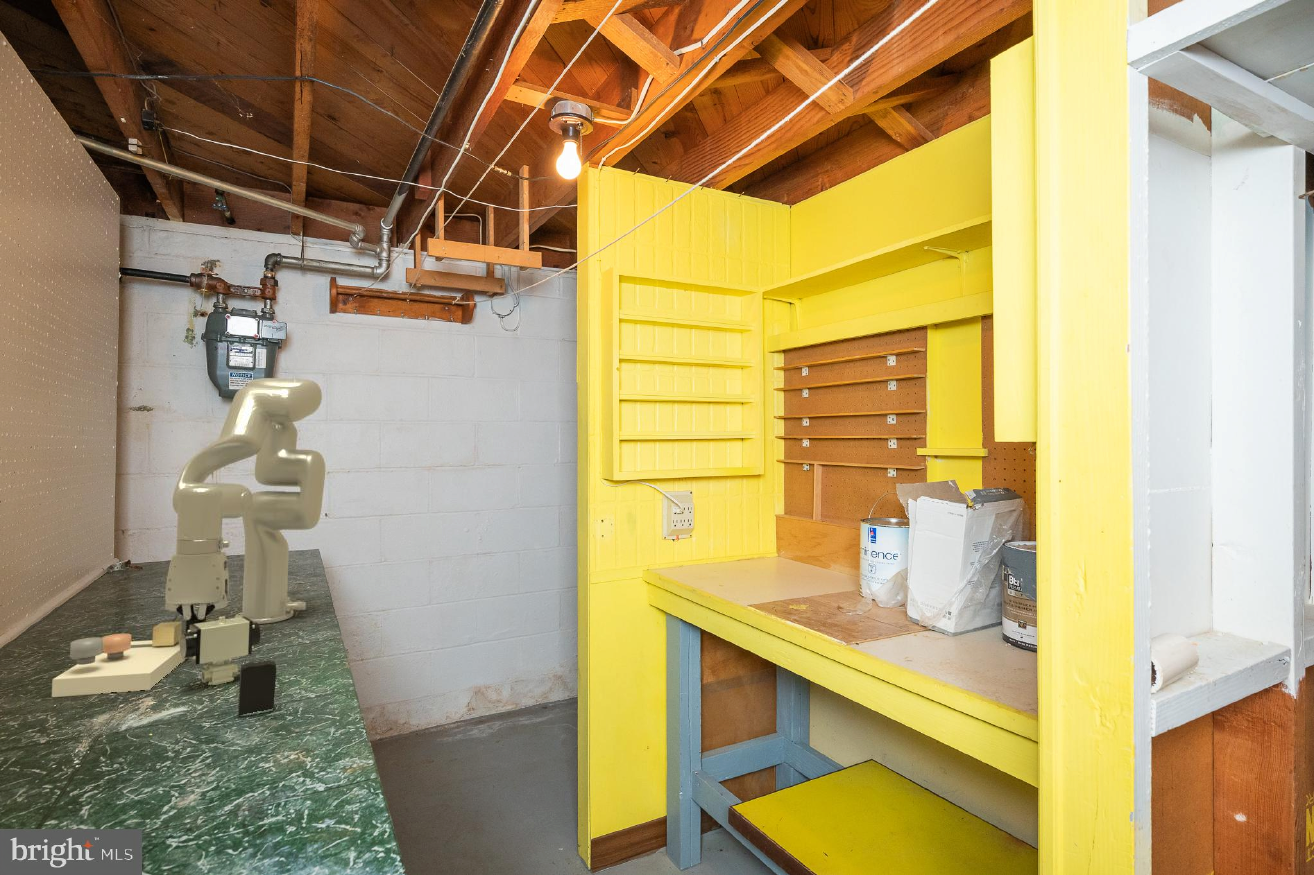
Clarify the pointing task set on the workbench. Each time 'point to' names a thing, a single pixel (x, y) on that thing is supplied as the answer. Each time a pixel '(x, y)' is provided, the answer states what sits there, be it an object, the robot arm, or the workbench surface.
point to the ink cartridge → (257, 687)
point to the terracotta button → (116, 645)
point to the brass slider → (166, 633)
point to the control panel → (120, 671)
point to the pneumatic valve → (219, 646)
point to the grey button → (86, 649)
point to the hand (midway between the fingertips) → (195, 637)
